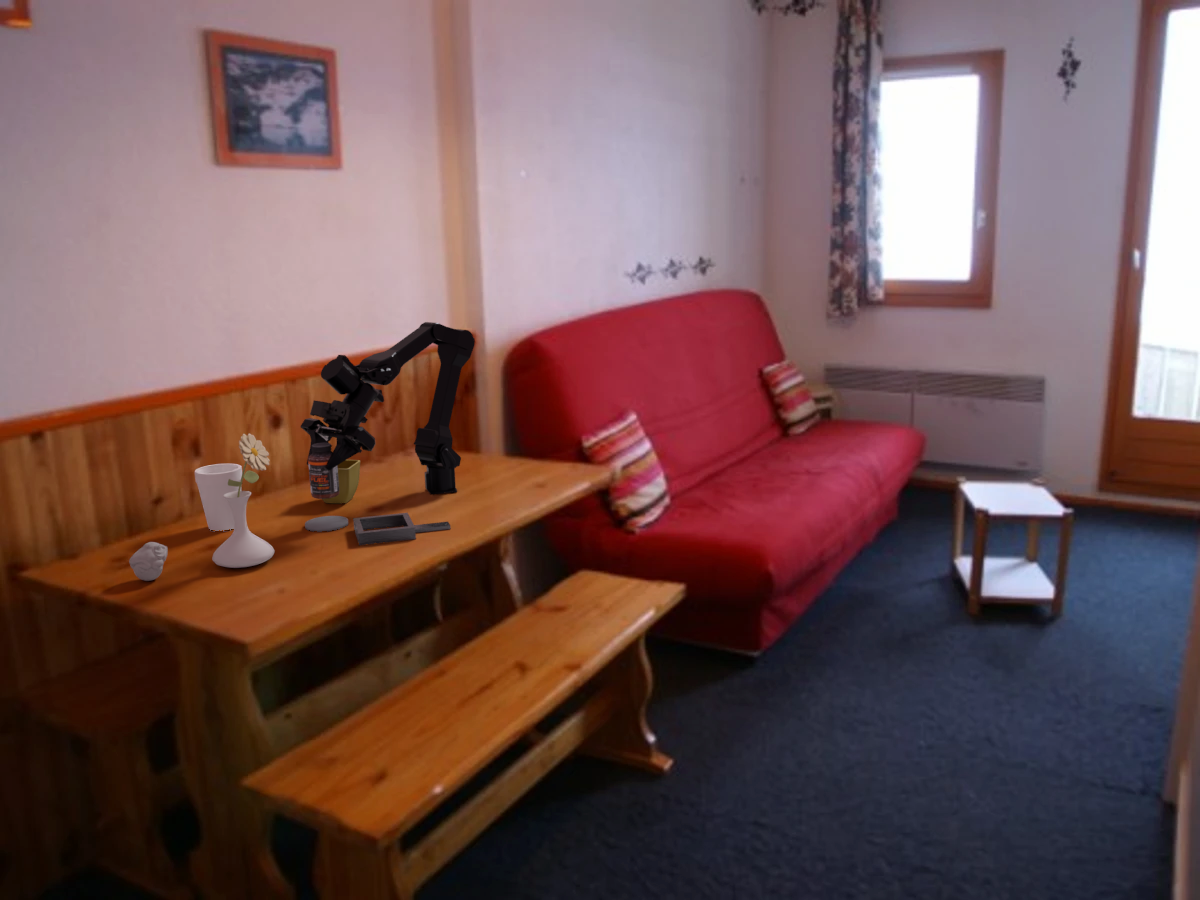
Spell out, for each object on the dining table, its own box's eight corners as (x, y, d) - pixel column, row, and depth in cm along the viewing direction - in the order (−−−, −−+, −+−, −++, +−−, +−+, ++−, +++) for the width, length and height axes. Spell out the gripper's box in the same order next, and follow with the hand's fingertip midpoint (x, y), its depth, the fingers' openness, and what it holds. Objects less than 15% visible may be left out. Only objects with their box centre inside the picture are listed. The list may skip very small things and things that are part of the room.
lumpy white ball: (177, 578, 192) (173, 542, 190) (140, 588, 187) (135, 551, 185) (161, 571, 196) (157, 535, 194) (125, 581, 191) (120, 545, 189)
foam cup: (256, 523, 225) (251, 465, 222) (225, 535, 217) (218, 475, 214) (223, 519, 229) (217, 462, 226) (191, 530, 221) (184, 471, 218)
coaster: (346, 517, 228) (346, 514, 228) (350, 529, 220) (349, 525, 220) (304, 522, 225) (304, 518, 225) (306, 533, 217) (305, 530, 217)
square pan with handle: (444, 519, 225) (444, 508, 224) (454, 534, 214) (453, 523, 214) (354, 529, 219) (353, 518, 219) (359, 545, 209) (358, 533, 208)
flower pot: (363, 496, 245) (361, 459, 243) (351, 506, 237) (348, 468, 235) (327, 496, 246) (324, 459, 244) (314, 506, 238) (311, 468, 236)
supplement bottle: (308, 500, 218) (303, 448, 215) (315, 492, 224) (310, 441, 221) (336, 499, 218) (331, 447, 216) (342, 491, 224) (338, 440, 221)
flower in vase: (240, 577, 192) (226, 445, 186) (200, 567, 198) (185, 439, 192) (294, 556, 203) (283, 432, 197) (255, 547, 209) (243, 426, 203)
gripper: (303, 381, 224) (265, 441, 218) (360, 389, 213) (321, 452, 207) (336, 410, 232) (299, 469, 226) (392, 419, 221) (355, 481, 215)
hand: (317, 467), depth 218 cm, fingers closed on supplement bottle, 6 cm apart
